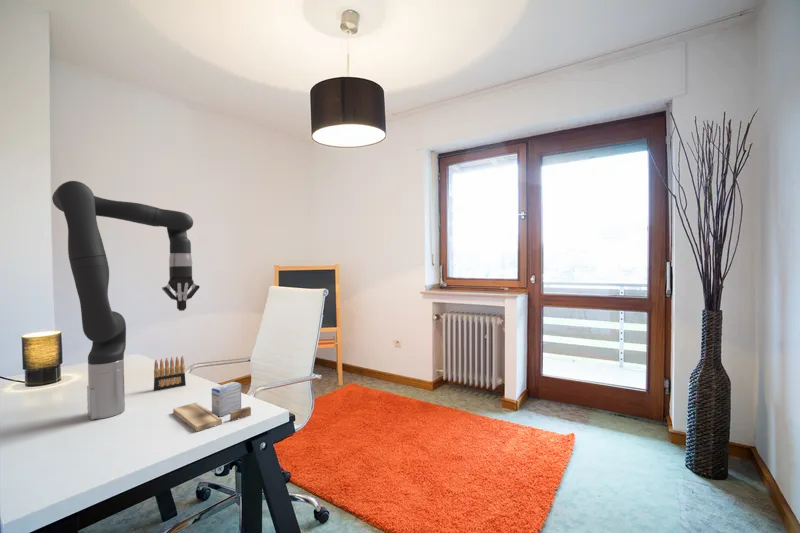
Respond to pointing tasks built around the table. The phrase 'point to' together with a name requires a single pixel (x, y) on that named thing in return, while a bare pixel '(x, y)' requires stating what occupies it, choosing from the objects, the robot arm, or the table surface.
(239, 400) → the medicine box
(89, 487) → the table surface
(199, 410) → the board
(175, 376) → the ammunition clip
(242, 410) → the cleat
